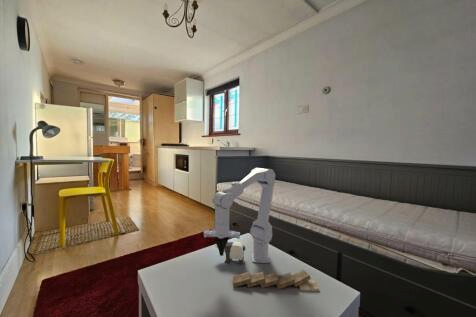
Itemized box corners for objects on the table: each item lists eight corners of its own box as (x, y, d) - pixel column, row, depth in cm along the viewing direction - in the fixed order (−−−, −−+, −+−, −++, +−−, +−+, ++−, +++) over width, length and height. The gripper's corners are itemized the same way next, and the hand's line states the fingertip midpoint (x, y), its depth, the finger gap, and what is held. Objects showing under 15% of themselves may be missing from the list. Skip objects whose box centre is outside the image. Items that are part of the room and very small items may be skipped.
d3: (259, 276, 81) (275, 272, 80) (260, 280, 81) (276, 276, 80) (260, 284, 76) (278, 279, 76) (261, 288, 76) (279, 283, 76)
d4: (273, 278, 80) (289, 272, 80) (274, 281, 80) (290, 275, 81) (277, 285, 75) (294, 279, 76) (278, 289, 75) (295, 283, 76)
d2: (246, 276, 81) (263, 271, 81) (247, 280, 81) (264, 275, 81) (247, 283, 76) (264, 278, 76) (248, 287, 76) (265, 282, 76)
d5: (288, 277, 81) (303, 269, 82) (290, 280, 81) (304, 273, 82) (294, 283, 76) (309, 275, 78) (295, 287, 76) (310, 278, 78)
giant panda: (246, 259, 96) (246, 239, 95) (244, 265, 90) (244, 245, 90) (217, 255, 99) (217, 236, 98) (213, 261, 93) (213, 241, 93)
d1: (233, 276, 81) (249, 271, 81) (234, 279, 81) (250, 275, 81) (232, 283, 76) (250, 278, 76) (233, 287, 76) (251, 282, 76)
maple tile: (297, 280, 80) (314, 280, 80) (297, 284, 80) (314, 284, 80) (300, 288, 75) (319, 288, 75) (300, 292, 75) (318, 292, 75)
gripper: (202, 224, 77) (201, 258, 78) (239, 226, 76) (238, 260, 77) (206, 218, 84) (205, 249, 85) (240, 219, 83) (239, 251, 84)
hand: (221, 254), depth 81 cm, fingers closed
